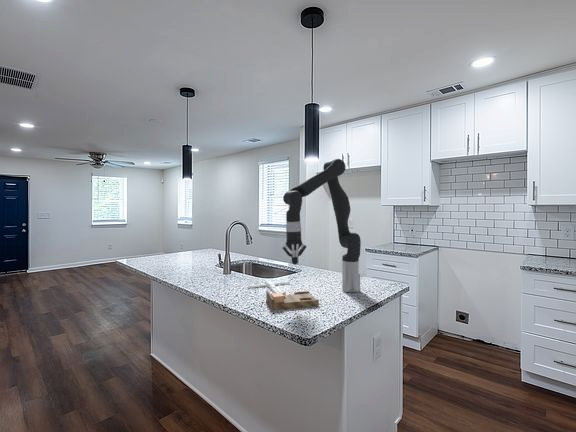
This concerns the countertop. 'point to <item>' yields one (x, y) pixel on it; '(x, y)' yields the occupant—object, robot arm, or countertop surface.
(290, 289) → the countertop surface
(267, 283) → the articulated figure
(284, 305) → the brown wooden compartment frame
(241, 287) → the countertop surface
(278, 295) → the block
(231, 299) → the countertop surface
